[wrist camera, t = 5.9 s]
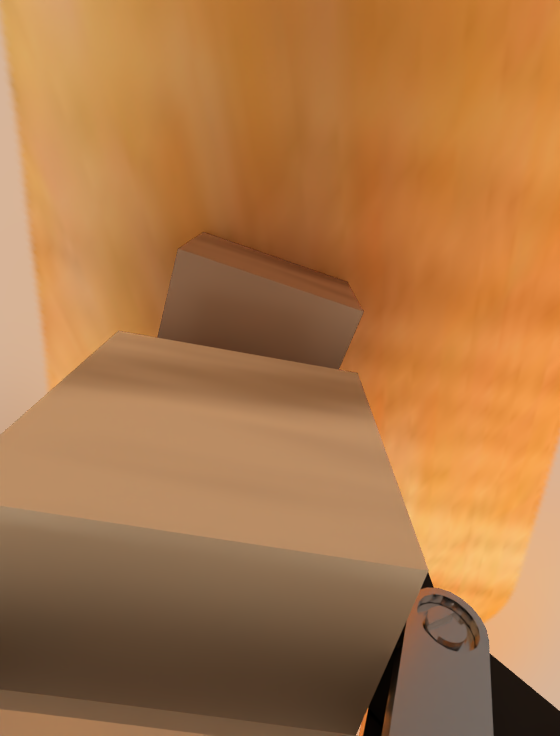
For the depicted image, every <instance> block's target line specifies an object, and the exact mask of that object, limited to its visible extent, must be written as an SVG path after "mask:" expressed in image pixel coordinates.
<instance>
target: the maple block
mask: <svg viewBox="0 0 560 736" xmlns="http://www.w3.org/2000/svg"><path fill="white" fill-rule="evenodd" d="M428 571H429V570H428V568H427V565H426V562H425V559H424V556H423V554H422V551H421V548H420V545H419V543H418V540H417V537H416V534H415V531H414V529H413V526H412V523H411V520H410V517H409V515H408V512H407V509H406V506H405V504H404V501H403V498H402V495H401V492H400V490H399V487H398V484H397V481H396V479H395V476H394V473H393V470H392V467H391V465H390V462H389V459H388V456H387V453H386V451H385V448H384V445H383V442H382V440H381V437H380V434H379V431H378V428H377V426H376V423H375V420H374V417H373V414H372V412H371V409H370V406H369V403H368V401H367V398H366V395H365V392H364V389H363V387H362V384H361V381H360V378H359V376H358V373H355V372H349V371H344V370H338V369H332V368H327V367H321V366H315V365H310V364H304V363H298V362H293V361H287V360H281V359H276V358H270V357H264V356H259V355H253V354H247V353H242V352H236V351H230V350H225V349H219V348H213V347H208V346H202V345H196V344H191V343H185V342H179V341H174V340H168V339H162V338H157V337H151V336H145V335H140V334H134V333H128V332H123V331H118V332H116V333H115V334H114V335H113V336H112V337H111V338H110V339H109V340H107V341H106V342H105V343H104V344H103V345H102V346H101V347H99V348H98V349H97V350H96V351H95V352H94V353H93V354H92V355H90V356H89V357H88V358H87V359H86V360H85V361H84V362H82V363H81V364H80V365H79V366H78V367H77V368H76V369H74V370H73V371H72V372H71V373H70V374H69V375H68V376H67V377H65V378H64V379H63V380H62V381H61V382H60V383H59V384H57V385H56V386H55V387H54V388H53V389H52V390H51V391H49V392H48V393H47V394H46V395H45V396H44V397H43V398H42V399H40V400H39V401H38V402H37V403H36V404H35V405H34V406H32V407H31V408H30V409H29V410H28V411H27V412H26V413H25V414H23V415H22V416H21V417H20V418H19V419H18V420H17V421H15V423H13V424H12V425H11V426H10V427H9V428H7V429H6V430H5V431H4V432H3V433H2V434H1V435H0V690H8V691H16V692H25V693H33V694H41V695H49V696H57V697H65V698H73V699H81V700H89V701H97V702H105V703H112V704H120V705H128V706H136V707H144V708H152V709H159V710H167V711H175V712H183V713H190V714H198V715H206V716H214V717H222V718H229V719H237V720H244V721H252V722H259V723H267V724H274V725H282V726H289V727H296V728H304V729H311V730H319V731H326V732H334V733H341V734H349V735H356V734H357V731H358V729H359V727H360V725H361V722H362V720H363V718H364V715H365V713H366V711H367V709H368V706H369V704H370V702H371V700H372V697H373V695H374V693H375V691H376V688H377V686H378V684H379V682H380V679H381V677H382V675H383V673H384V670H385V668H386V666H387V664H388V661H389V659H390V657H391V655H392V652H393V650H394V648H395V645H396V643H397V641H398V639H399V636H400V634H401V632H402V630H403V627H404V625H405V623H406V621H407V618H408V616H409V614H410V612H411V609H412V607H413V605H414V603H415V600H416V598H417V596H418V594H419V591H420V589H421V587H422V585H423V582H424V580H425V578H426V576H427V573H428Z"/></svg>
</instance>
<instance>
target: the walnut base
mask: <svg viewBox="0 0 560 736" xmlns="http://www.w3.org/2000/svg"><path fill="white" fill-rule="evenodd" d="M363 312H364V311H363V309H362V308H361V306H360V304H359V302H358V300H357V298H356V297H355V295H354V293H353V291H352V289H351V288H350V286H349V284H348V282H346V281H343V280H340V279H337V278H334V277H332V276H329V275H326V274H323V273H320V272H317V271H314V270H311V269H308V268H306V267H303V266H300V265H297V264H294V263H291V262H288V261H285V260H282V259H280V258H277V257H274V256H271V255H268V254H265V253H262V252H259V251H257V250H254V249H251V248H248V247H245V246H242V245H239V244H236V243H233V242H231V241H228V240H225V239H222V238H219V237H216V236H213V235H210V234H207V233H205V232H203V233H201V234H200V235H198V236H197V237H195V238H194V239H192V240H190V241H189V242H187V243H186V244H184V245H183V246H181V247H180V248H178V251H177V255H176V260H175V264H174V268H173V273H172V277H171V281H170V285H169V290H168V294H167V298H166V303H165V307H164V311H163V315H162V320H161V324H160V328H159V333H158V337H157V338H162V339H168V340H174V341H179V342H185V343H191V344H196V345H202V346H208V347H213V348H219V349H225V350H230V351H236V352H242V353H247V354H253V355H259V356H264V357H270V358H276V359H281V360H287V361H293V362H298V363H304V364H310V365H315V366H321V367H327V368H332V369H338V370H339V368H340V365H341V363H342V361H343V358H344V356H345V354H346V351H347V349H348V347H349V345H350V342H351V340H352V338H353V335H354V333H355V331H356V328H357V326H358V324H359V321H360V319H361V317H362V315H363Z"/></svg>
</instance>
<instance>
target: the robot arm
mask: <svg viewBox="0 0 560 736" xmlns="http://www.w3.org/2000/svg"><path fill="white" fill-rule="evenodd" d="M0 736H356V735H349V734H341V733H334V732H326V731H319V730H311V729H304V728H296V727H289V726H282V725H274V724H267V723H259V722H252V721H244V720H237V719H229V718H222V717H214V716H206V715H198V714H190V713H183V712H175V711H167V710H159V709H152V708H144V707H136V706H128V705H120V704H112V703H105V702H97V701H89V700H81V699H73V698H65V697H57V696H49V695H41V694H33V693H25V692H16V691H8V690H0ZM359 736H560V711H559V710H558V709H556V708H555V707H554V706H553V705H552V704H550V703H549V702H548V701H547V700H546V699H544V698H543V697H542V696H541V695H539V694H538V693H537V692H536V691H535V690H533V689H532V688H531V687H530V686H529V685H527V684H526V683H525V682H524V681H522V680H521V679H520V678H519V677H518V676H516V675H515V674H514V673H513V672H512V671H510V670H509V669H508V668H507V667H505V666H504V665H503V664H502V663H501V662H499V661H498V660H497V659H496V658H494V657H493V656H492V655H491V654H490V653H489V639H488V634H487V630H486V628H485V626H484V624H483V622H482V620H481V618H480V617H479V616H478V614H477V613H476V612H475V611H474V610H473V608H472V607H471V606H469V605H468V604H467V603H466V602H465V601H463V600H462V599H461V598H459V597H458V596H456V595H454V594H452V593H451V592H448V591H445V590H442V589H439V588H434V587H433V584H432V582H431V579H430V576H429V573H427V576H426V578H425V580H424V582H423V585H422V587H421V589H420V591H419V594H418V596H417V598H416V600H415V603H414V605H413V607H412V609H411V612H410V614H409V616H408V618H407V621H406V623H405V625H404V627H403V630H402V632H401V634H400V636H399V639H398V641H397V643H396V645H395V648H394V650H393V652H392V655H391V657H390V659H389V661H388V664H387V666H386V668H385V670H384V673H383V675H382V677H381V679H380V682H379V684H378V686H377V688H376V691H375V693H374V695H373V697H372V700H371V702H370V704H369V706H368V709H367V711H366V713H365V715H364V718H363V720H362V723H361V728H360V732H359Z"/></svg>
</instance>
